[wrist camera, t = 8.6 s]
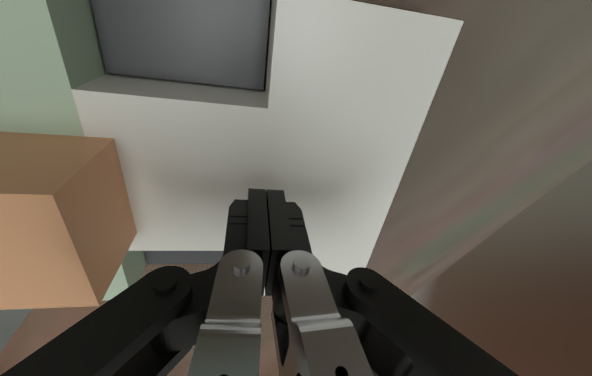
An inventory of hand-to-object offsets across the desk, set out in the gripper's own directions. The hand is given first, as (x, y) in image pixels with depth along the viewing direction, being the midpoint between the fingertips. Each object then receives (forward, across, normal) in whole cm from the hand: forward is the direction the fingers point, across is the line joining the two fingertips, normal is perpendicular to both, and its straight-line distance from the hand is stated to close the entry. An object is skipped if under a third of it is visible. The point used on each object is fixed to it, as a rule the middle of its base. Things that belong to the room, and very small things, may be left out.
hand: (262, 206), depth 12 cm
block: (+1, +8, +1) cm, 9 cm away
